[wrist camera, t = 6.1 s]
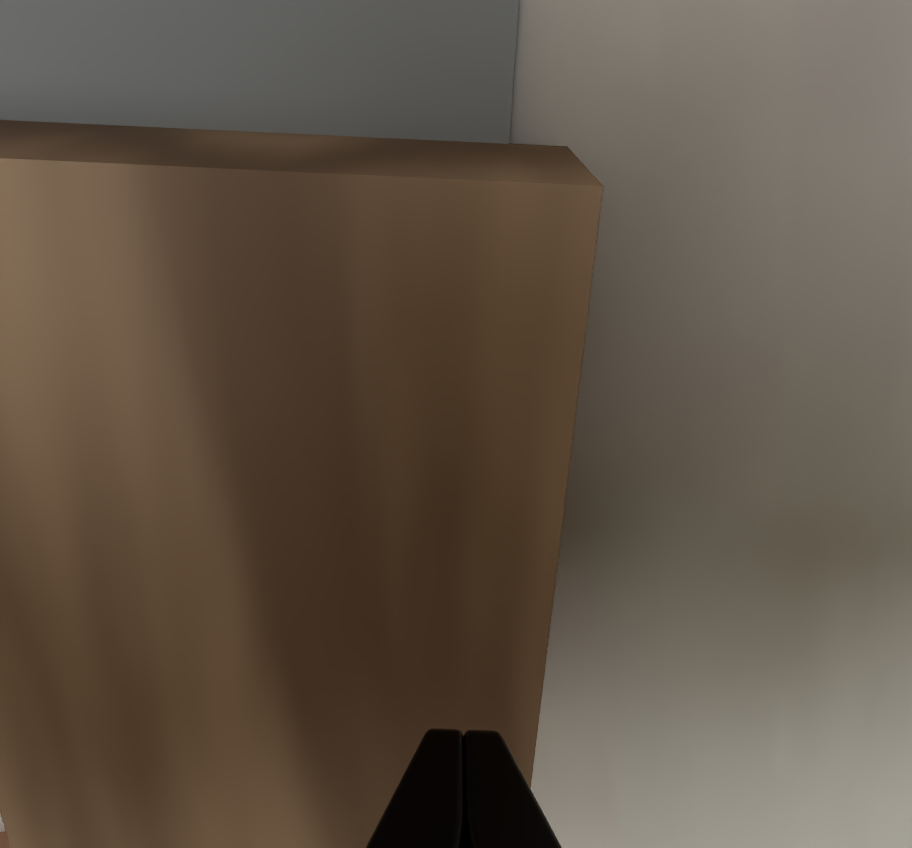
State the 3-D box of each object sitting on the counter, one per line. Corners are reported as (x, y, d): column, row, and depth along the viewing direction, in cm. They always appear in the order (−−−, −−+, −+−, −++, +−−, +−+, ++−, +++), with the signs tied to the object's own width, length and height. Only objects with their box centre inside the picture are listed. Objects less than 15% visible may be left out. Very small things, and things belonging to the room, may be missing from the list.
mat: (518, -4, 12) (519, -5, 11) (464, 775, 19) (464, 786, 18) (-249, -42, 12) (-266, -44, 11) (-13, 758, 19) (-20, 769, 18)
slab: (603, 186, 9) (-198, 149, 9) (519, 874, 14) (14, 857, 14) (566, 146, 12) (-27, 118, 12) (509, 723, 18) (94, 708, 17)
